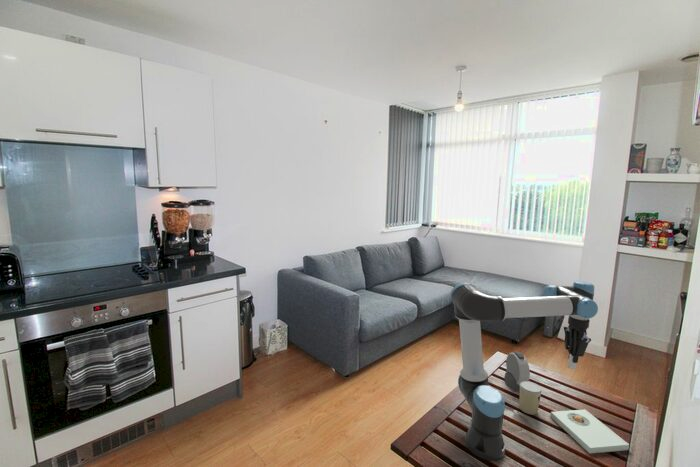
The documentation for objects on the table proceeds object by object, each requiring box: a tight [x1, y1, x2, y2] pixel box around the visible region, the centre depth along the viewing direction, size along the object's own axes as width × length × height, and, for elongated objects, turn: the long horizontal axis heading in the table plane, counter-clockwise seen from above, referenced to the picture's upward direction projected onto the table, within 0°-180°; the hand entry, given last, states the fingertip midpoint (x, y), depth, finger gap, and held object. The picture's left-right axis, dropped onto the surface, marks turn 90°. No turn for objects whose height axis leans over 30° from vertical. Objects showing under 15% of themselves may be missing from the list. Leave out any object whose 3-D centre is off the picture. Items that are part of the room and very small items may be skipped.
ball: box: [573, 416, 582, 423], centre depth 152 cm, size 4×4×4 cm
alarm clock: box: [503, 350, 531, 392], centre depth 181 cm, size 16×10×18 cm, turn 179°
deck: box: [550, 409, 630, 454], centre depth 147 cm, size 22×18×2 cm
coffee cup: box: [518, 380, 543, 415], centre depth 161 cm, size 9×9×12 cm
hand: (571, 368), depth 147 cm, fingers closed
